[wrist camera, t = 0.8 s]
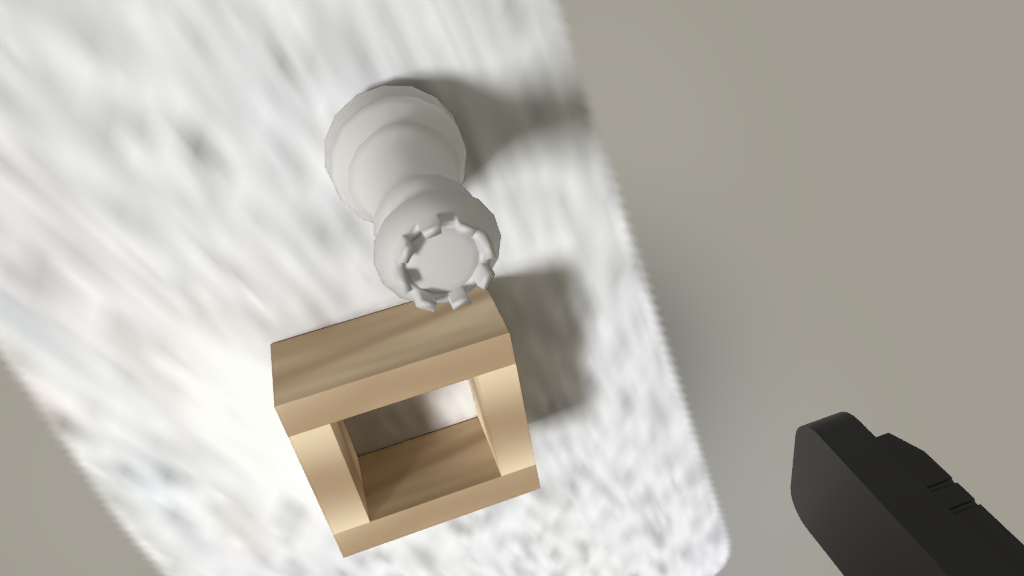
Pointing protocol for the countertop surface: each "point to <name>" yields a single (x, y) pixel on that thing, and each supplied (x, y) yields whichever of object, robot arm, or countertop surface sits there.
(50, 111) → the countertop surface
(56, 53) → the countertop surface
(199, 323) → the countertop surface
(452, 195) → the rook chess piece
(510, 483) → the socket block
